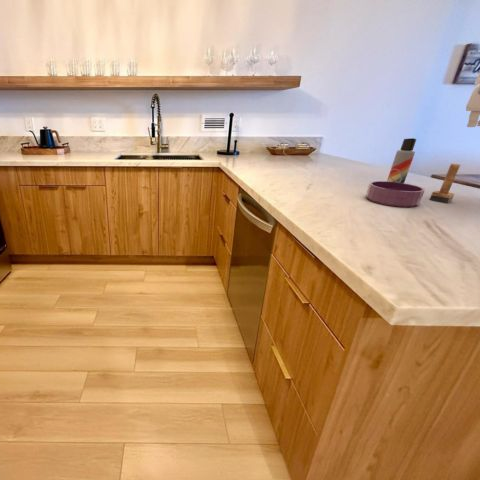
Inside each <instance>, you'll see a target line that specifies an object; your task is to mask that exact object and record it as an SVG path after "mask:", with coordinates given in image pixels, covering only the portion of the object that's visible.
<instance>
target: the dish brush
mask: <svg viewBox="0 0 480 480" xmlns="http://www.w3.org/2000/svg"><path fill="white" fill-rule="evenodd" d="M460 167H461V164H459V163H450V164H449V167H448V170H447V172H446V174H445V177H444V179H443V182H442V185H441V187H440V188H439V190H435V191H434V190H433V191H432V192H431V195H430V197H429V201H433V202H439V203H442V204H449V203H451V202H452V201H453V199H454V196H455V193H454V192H450V190H451V188H452V185H453V183H454V181H455V178H456V176H457V174H458V171H459V169H460Z"/></svg>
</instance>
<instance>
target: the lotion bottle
mask: <svg viewBox="0 0 480 480" xmlns="http://www.w3.org/2000/svg"><path fill="white" fill-rule="evenodd" d="M416 142H417V138H413V137H412V138H403V141H402V143H401V146H400V149H398V150H396V153H395V155H394V159H393V162H392V164H391V168H390V170H389V174H388V177H387V179H386V181H389V182H399V183H405V181H406V180H407V177H408V173H409V171H410V168H411V166H412V163H413V160H414V156H415V153H416V151H414V148H415V145H416Z"/></svg>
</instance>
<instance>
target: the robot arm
mask: <svg viewBox="0 0 480 480" xmlns="http://www.w3.org/2000/svg"><path fill="white" fill-rule="evenodd" d="M473 86H475V87H474V88H473V91H472V93H471V94H470V97H469V99H468V101H467V104H466V106H465V112H470V114H469V116H468V122H467V125H466V127H467V128H475V127H480V119H479V118H480V70H479V71H478V74H477V77H476V79H475V82H474V85H473Z"/></svg>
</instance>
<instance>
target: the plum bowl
mask: <svg viewBox="0 0 480 480" xmlns="http://www.w3.org/2000/svg"><path fill="white" fill-rule="evenodd" d="M424 193H425V188H423V187H421V186H418V185H416V184H411V183H405V182H404V183H399V182H389V181H387V180H376V181H375V180H374V181H371V182H369V185H368V187H367V191H366V194H365V197H366V198H367V199H368V200H369V201H371V202H373V203H376V204H379V205H383V206H384V205H385V206H389V207H397V208H409V207H410V208H412V207H415V206H417V205H419V204H421V200H422V198H423V197H424V196H423V195H424Z"/></svg>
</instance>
